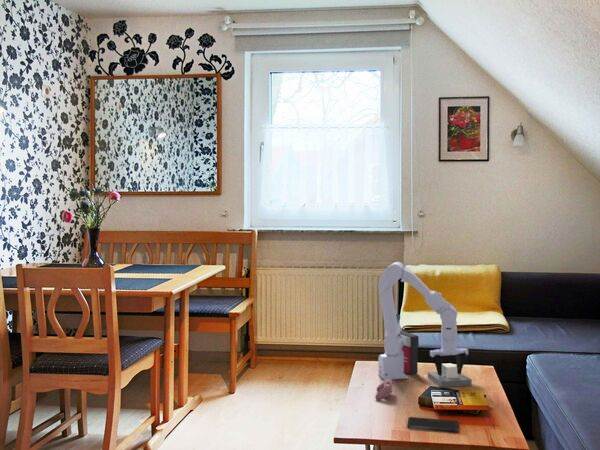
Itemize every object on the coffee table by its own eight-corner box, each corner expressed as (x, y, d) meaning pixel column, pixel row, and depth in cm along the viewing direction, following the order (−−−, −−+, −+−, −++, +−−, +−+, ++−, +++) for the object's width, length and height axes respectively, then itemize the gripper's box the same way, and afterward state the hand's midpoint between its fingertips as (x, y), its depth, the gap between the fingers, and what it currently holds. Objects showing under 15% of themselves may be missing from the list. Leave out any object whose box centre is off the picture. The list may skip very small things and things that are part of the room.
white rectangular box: (447, 383, 214) (447, 367, 214) (441, 379, 219) (441, 363, 219) (457, 382, 215) (457, 366, 215) (451, 378, 220) (451, 363, 220)
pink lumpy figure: (386, 405, 197) (395, 388, 196) (374, 399, 198) (383, 381, 197) (387, 396, 207) (396, 379, 206) (375, 389, 207) (384, 372, 207)
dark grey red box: (393, 368, 235) (393, 331, 235) (402, 366, 237) (402, 330, 236) (409, 375, 225) (409, 337, 225) (418, 373, 227) (418, 335, 226)
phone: (458, 430, 169) (406, 426, 173) (458, 434, 169) (406, 429, 173) (458, 420, 177) (408, 416, 181) (458, 424, 177) (408, 420, 181)
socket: (440, 387, 210) (440, 379, 210) (427, 377, 222) (427, 369, 222) (471, 384, 212) (471, 376, 212) (457, 375, 224) (457, 367, 224)
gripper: (435, 342, 211) (435, 378, 212) (472, 339, 214) (472, 376, 214) (427, 337, 218) (427, 373, 219) (463, 335, 221) (463, 370, 221)
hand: (449, 374), depth 217 cm, fingers open, 7 cm apart
